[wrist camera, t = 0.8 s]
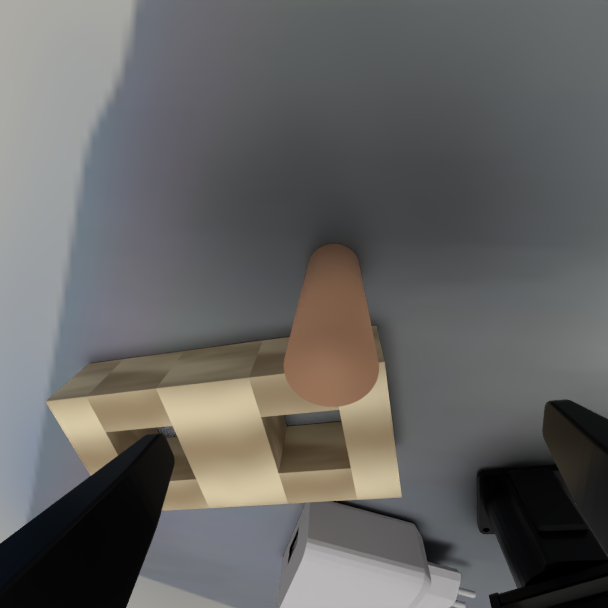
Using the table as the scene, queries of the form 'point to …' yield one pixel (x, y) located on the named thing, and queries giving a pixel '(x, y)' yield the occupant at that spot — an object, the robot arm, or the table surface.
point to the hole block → (232, 427)
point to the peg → (332, 332)
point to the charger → (362, 563)
